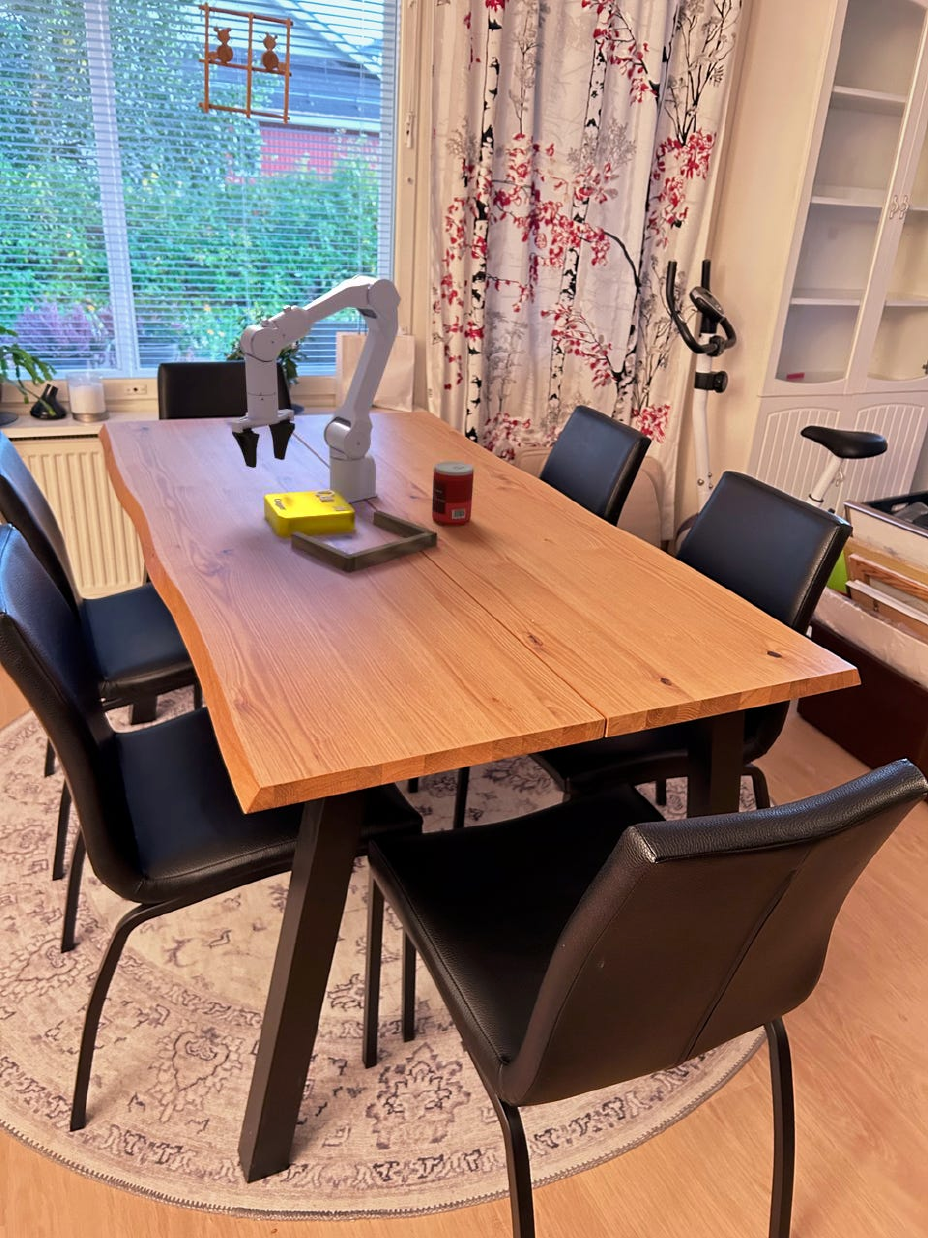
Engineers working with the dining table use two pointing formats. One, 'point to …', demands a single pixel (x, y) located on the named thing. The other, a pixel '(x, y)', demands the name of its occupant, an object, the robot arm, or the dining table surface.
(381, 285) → the robot arm
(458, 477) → the canned food
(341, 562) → the walnut holder
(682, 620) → the dining table surface
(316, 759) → the dining table surface
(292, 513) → the element tile
